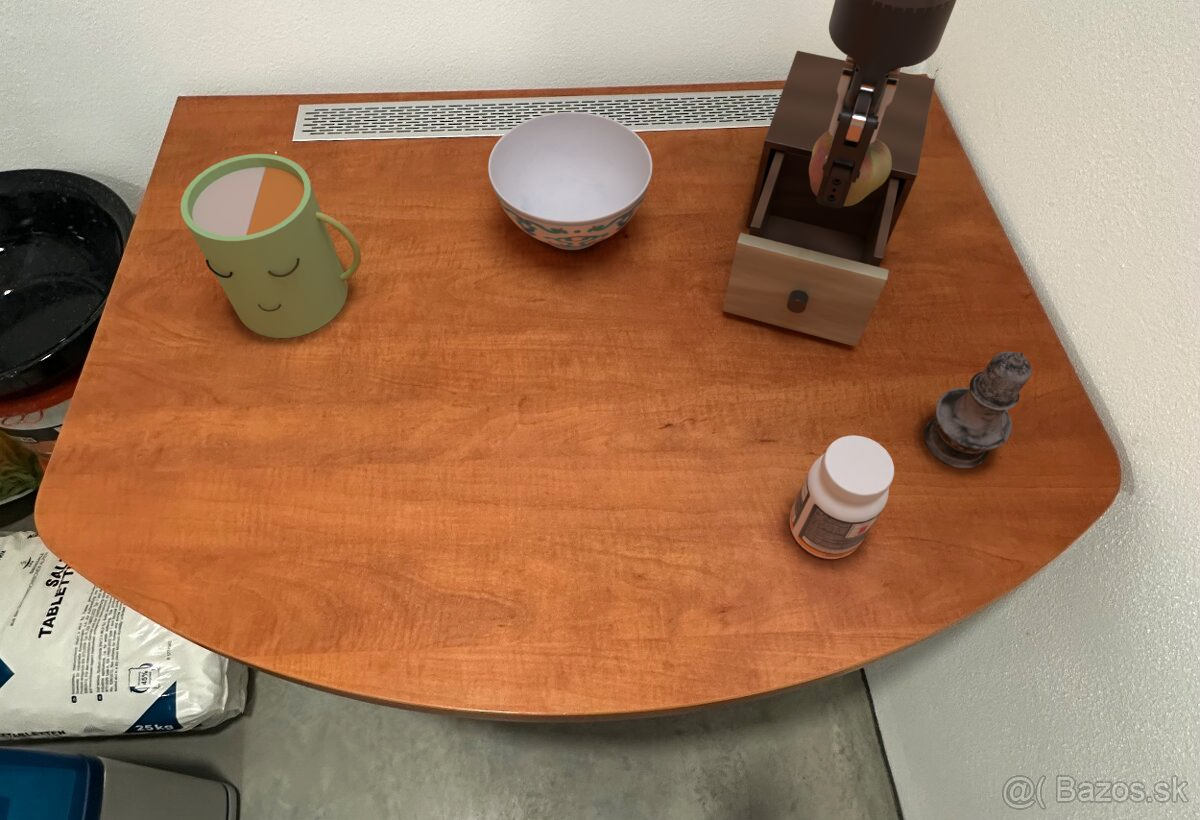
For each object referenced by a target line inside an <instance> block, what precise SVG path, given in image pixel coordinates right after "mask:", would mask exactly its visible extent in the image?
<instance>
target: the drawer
mask: <svg viewBox="0 0 1200 820" xmlns="http://www.w3.org/2000/svg"><path fill="white" fill-rule="evenodd" d="M811 158H812V157H807V156H803V155H799V154H794V153H790V152H786V151H781V150H776V153H775V156H774V159H773V162H772V165H771V168H770V171H769V174H768V177H767V180H766V183H765V186H764V188H763V191H762V194H761V197H760V200H759V203H758V206H757V209H756V212H755V215H754V218H753V221H752V223H751V227H749V232H748V234H747V233H743V232H740V233H739V236H738V239H737V241H736V246H735V250H734V255H733V260H732V264H731V268H730V273H729V274H730V275H729V278H728V283H727V287H726V288H727V289H726V292H725V297H724V301H723V307H722V312H725V313H728V314H732V315H736V316H739V317H742V318H747V319H751V320H754V321H758V322H762V323H765V324H770V325H773V326H776V327H777V326H778V327H781V328H784V329H787V330H792V331H795V332H799V333H803V334H807V335H811V336H815V337H817V338H822V339H826V340H829V341H833V342H836V343H841V344H844V345H848V346H851V347H856V348H857V346H858V344H859V342H860V339H861V338H862V336H863V333H864V332H865V329H866V326H867V325H868V322H869V320H870V318H871V316H872V315H873V314H872V313H873V311H874V309H875V307H876V305H877V303H878V301H879V298H880V297H881V295H882V292H883V290H884V288H885V285H886V283H887V281H888V278H889V273H890V270H889V269H887V268H884V267H881V264H882V263H883V260H884V256H885V251H886V248H885V247H887V245H886V242H887V237H888V233H889V228H890V223H891V218H892V213H893V209H894V204H895V199H896V194H897V189H898V184H899V180H900V178H899V177H894V176H890V175H889V176H888V178H887V179H886V181H885V182H884V183H883V184H882V185H881V186H880V187H878V188H877V189H875V190H874V191H872V192H871V193H870V194H869V195H867V196H866V197H865V198H864V199H863V200H861V201H860V202H858V203H856V204H854V205H851V206H843V207H842V208H839V209H837V208H832V207H828V206H824V205H820V204H818V203H817V201H816V198H817V196H816V195H815V194H814V193H813V191H812V188H811V184H810V177H809V166H810V162H811Z"/></svg>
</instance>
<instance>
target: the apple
mask: <svg viewBox="0 0 1200 820" xmlns="http://www.w3.org/2000/svg"><path fill="white" fill-rule="evenodd" d="M832 141H833V138H832V136H831V135H830V134H829V130H828V131H826V132H825V133H824V134H823V135H822V136H821V137H820V138H819V139H818V140H817V142H816V143H815V145H814V148H813V152H812V158H811V162H810V166H809V177H810V184H811V188H812V191H813V193H814V194H815V195H816V196H817V194H818V191H819V188H820V184H821V181H822V178H823V176H822V175H823V171H824V170H822V168H823V164H824V163H825V164H826V162H824V160H825V157H826V155H827V156H828V154H829V151H830V147H831V144H832ZM891 167H892V159H891V153H890V150H889V149H888V147H887V146H886V145H885V144H884V143H883V142H882V141H880V140H878V139H875V141H874V142H873V143H872V144H869V147H868V149H867V152H866V155H865V158H864V160H863V163H862V166H861V169H860V171H859V172H861V173H860V176H859V179H858V178H857V179H856V182H855V183H853V182H852V183H851V186H850V189H849V192H848V195H847V198H846V201H845V203H844V206H851V205H854V204H856V203H858V202H860V201H861V200H863V199H864V198H865V197H866V196H867V195H869V194H870V193H871V192H872V191H874V190H875V189H877V188H878V187H880V186H881V185H882V184H883V183H884V182H885V181H886V179H887V178H888V176H889V174H890V171H891Z"/></svg>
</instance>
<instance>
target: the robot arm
mask: <svg viewBox="0 0 1200 820" xmlns="http://www.w3.org/2000/svg"><path fill="white" fill-rule="evenodd" d="M956 3H957V0H834V3H833V7H832V10H831V15H830V18H829V21H828V33H829V37H830V39H831V41H832V43H833V44H834V46H835V47H836V48H837V49H838V50H839V51H840V52H842V53H843V54H844V55H846V57H845V64H844V67H843V71H842V74H841V77H840V81H839V84H838V88H837V93H838V100H837V103H836V107H835V110H834V113H833V117H832V120H831V124H830V127H829V134H830V135H831V136H832V138H833V141H832V144H831V147H830V151H829V154H828V156H827V155H826V157H825V160H824V162H826V164H825V163H824V164H823V168H822V170H824V171H823V175H822V176H823V178H822V181H821V184H820V188H819V191H818V194H817V198H816V201H817V203H818V204H820V205H824V206H828V207H832V208H837V209H839V208H842V207H843V206H844V203H845V201H846V198H847V195H848V192H849V189H850V186H851V183H852V182H853V183H855V182H856V179H857V178H858V179H859V176H860V173H861V172H859V171H860V169H861V166H862V163H863V160H864V158H865V155H866V152H867V149H868V147H869V144H872V143H873V142H874V141H875V139H876V137H877V134H878V130H879V127H880V124H881V121H882V118H883V115H884V112H885V109H886V107H887V106H888V105H889V104H890V103H891V102H892V100H893V97H894V94H895V90H896V87H897V84H898V80H899V79H897V77H898V75H899V72H901V68H908V67H913V66H916V65H918V64H921V63H923V62H925V61H927V60H928V59H929V58H930V57H932V56H933V55H934V54H935V53H936V51H937V50H938V48H939V46H940V43H941V41H942V38H943V36H944V33H945V31H946V28H947V26H948V23H949V21H950V18H951V16H952V13H953V11H954V8H955V5H956ZM877 107H878V108H877ZM842 108H843V110H842ZM876 109H877V111H876ZM841 111H842V112H841ZM875 111H876V114H875ZM874 114H875V115H874Z"/></svg>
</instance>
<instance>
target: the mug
mask: <svg viewBox="0 0 1200 820" xmlns="http://www.w3.org/2000/svg"><path fill="white" fill-rule="evenodd" d="M180 213H181V216H182V219H183V221H184V223H185V225H186V227H187V229H188V231H189V232H190V234H191V235H192V237H193V239H194V240H195V242H196V245H197V246H198V247H199V249H200V251H201V253H202V255H203V256H204V258H205V263H206V266H207V268H208V270H210V271H211V272H212V273H213V274H214V276H215V278H216V280H217V281H218V283H219V285H220V286H221V287H222V290H223V292H224V293H225V295H226V297H227V299H228V300H229V302H230V304H231V306H232V308H233V310H234V311H235V313H236V315H237V316H238V318H239V320H240V321H241V322H242V323H243V325H244V326H245V327H246V328H248V330H250V331H252V332H254V333H255V334H257V335H260V336H263V337H267V338H273V339H290V338H297V337H302V336H304V335H308V334H311V333H313V332H315V331H317V330H319V329H321V328H323V327H324V326H326V325H328V323H330V322H331V321H332V320H333V319H334V318H336V316H337V315H338V314H339V313H340V312H341V310H342V309H343V307H344V306H345V303H346V301H347V298H348V292H349V285H348V280H349V279H350V278H351V277H352V276H353V275H355V273H356V272H357V271H358V269H359V268H360V265H361V262H362V253H361V248H360V246H359V243H358V241H357V239H356V238H355V235H353V233H352V232H351V231H350V230H349V229H348V228H347V227H346V226H345V225H344V224H342V223H341V222H340V221H338V220H337V219H335V218H333V217H331V216H329V215H328V214H326V213H323V212H322V210H321V207H320V204H319V201H318V199H317V196H316V193H315V191H314V188H313V185H312V183H311V180H310V177H309V175H308V173H307V172H306V171H305V169H304V168H303V167H302V166H301V165H300V164H298V163H297V162H296V161H293V160H291V159H289V158H287V157H284V156H281V155H276V154H269V153H252V154H251V153H249V154H243V155H239V156H238V155H237V156H234V157H231V158H227V159H224V160H222V161H220V162H217V163H215V164H213V165H211V166H210V167H207V168H206V169H205V170H203V171H202V172H201V173H199V174H198V175H196V177H194V179H193V180H192V181H191V182H190V183H189V184H188V185H187V187H186V188H185V190H184V192H183V194H182V196H181V201H180ZM327 224H328V225H329V226H331V227H332V228H334V229H336V230H337V231H338V232H339V233H340V234H341V235H342V236H343V237H344V238H345V239H346V241H347V243H349V246H350V247H351V250H352V254H353V259H352V262H351V265H350V267H349V268H348V269H347V270H345V271H344V269H343V266H342V264H341V261H340V258H339V255H338V253H337V250H336V248H335V244H334V242H333V240H332V239H333V238H332V237H331V234H330V231H329V229H328V226H327Z"/></svg>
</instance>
